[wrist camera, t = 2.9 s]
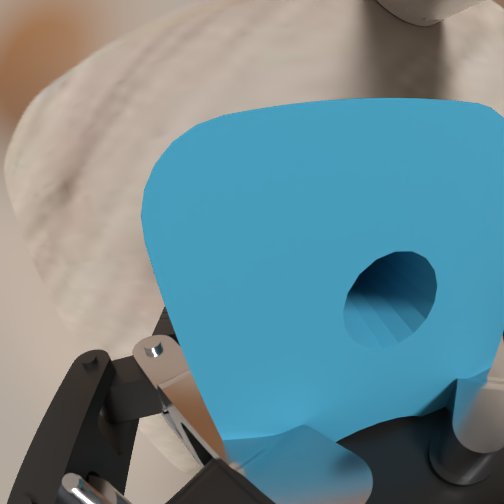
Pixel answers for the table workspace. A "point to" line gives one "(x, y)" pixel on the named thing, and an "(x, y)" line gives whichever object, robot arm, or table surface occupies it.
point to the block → (331, 259)
